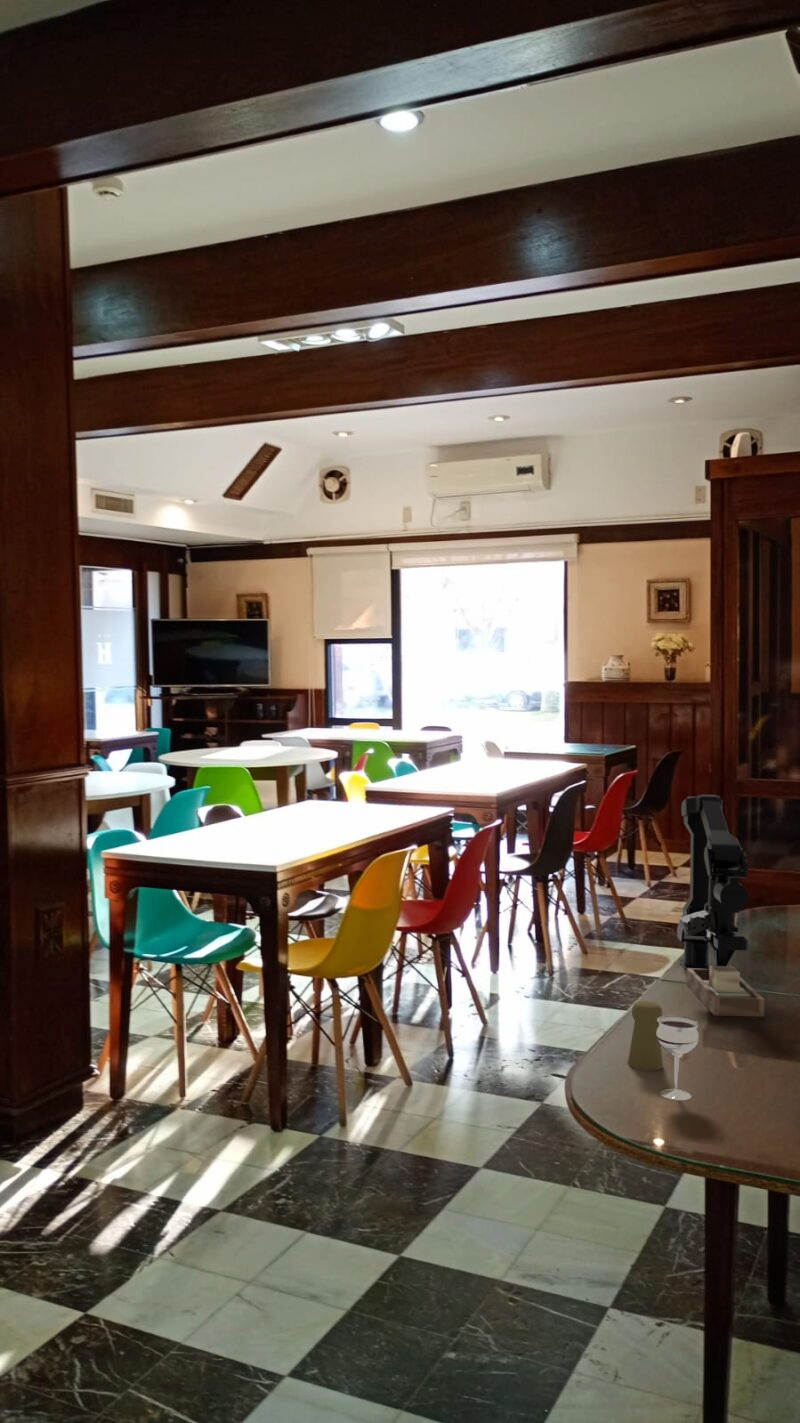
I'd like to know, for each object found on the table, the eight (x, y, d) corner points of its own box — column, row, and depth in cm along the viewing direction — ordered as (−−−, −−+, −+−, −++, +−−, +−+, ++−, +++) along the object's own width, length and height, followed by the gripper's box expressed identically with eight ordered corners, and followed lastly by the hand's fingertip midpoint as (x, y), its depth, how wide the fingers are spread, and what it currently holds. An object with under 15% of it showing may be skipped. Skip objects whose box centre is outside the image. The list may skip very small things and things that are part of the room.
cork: (660, 1059, 205) (662, 998, 204) (665, 1071, 199) (667, 1008, 198) (626, 1057, 205) (628, 996, 205) (629, 1069, 199) (631, 1006, 199)
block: (708, 984, 246) (709, 965, 245) (732, 985, 246) (733, 966, 245) (715, 991, 241) (715, 972, 240) (739, 991, 241) (739, 972, 240)
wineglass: (695, 1104, 184) (697, 1030, 183) (651, 1098, 186) (654, 1025, 186) (698, 1090, 190) (701, 1018, 190) (656, 1084, 192) (658, 1013, 192)
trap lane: (686, 983, 255) (686, 968, 255) (731, 984, 255) (732, 969, 255) (714, 1015, 232) (714, 998, 232) (763, 1016, 232) (764, 999, 232)
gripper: (674, 891, 255) (671, 961, 256) (695, 909, 237) (692, 984, 237) (724, 892, 255) (722, 962, 256) (749, 910, 237) (747, 986, 237)
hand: (719, 973), depth 247 cm, fingers closed
